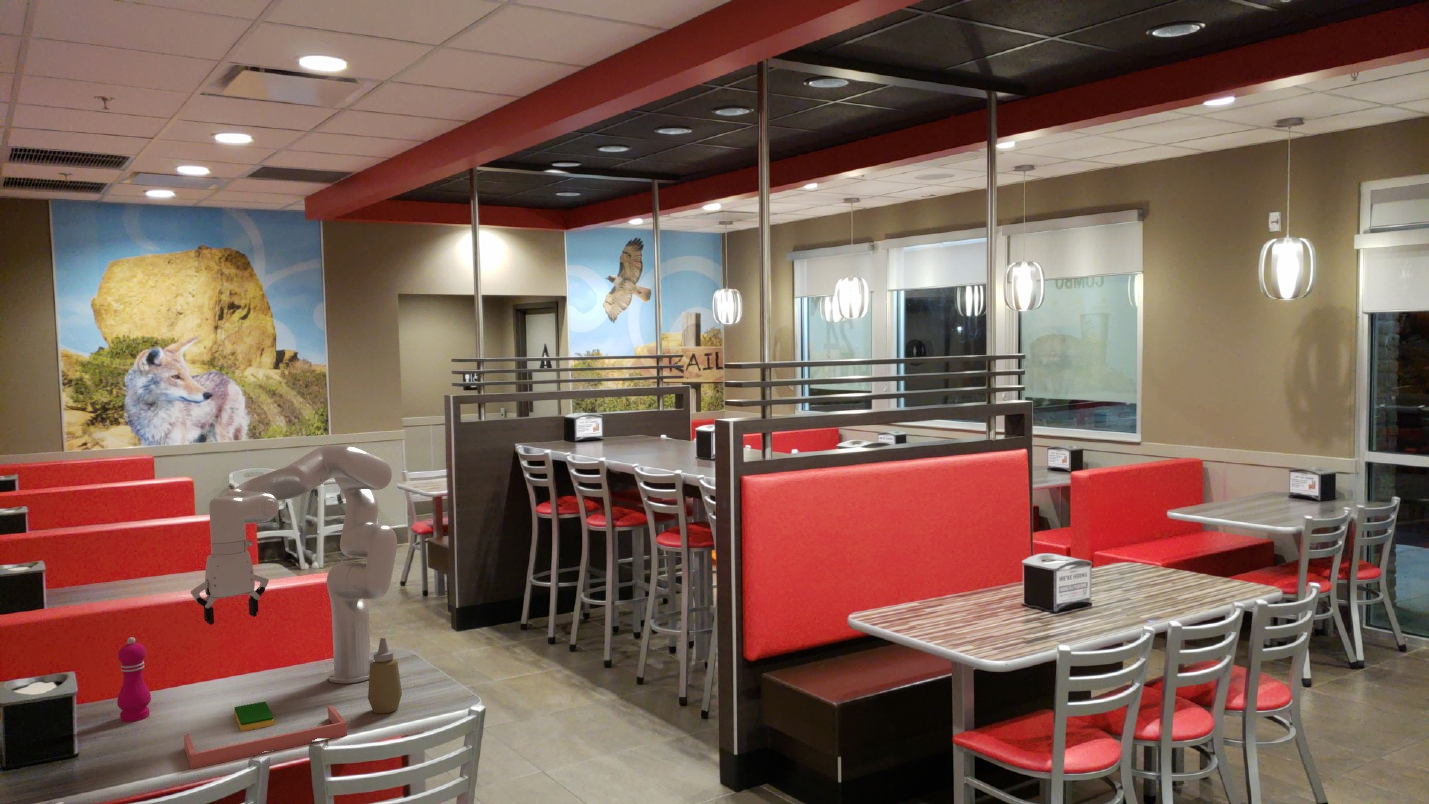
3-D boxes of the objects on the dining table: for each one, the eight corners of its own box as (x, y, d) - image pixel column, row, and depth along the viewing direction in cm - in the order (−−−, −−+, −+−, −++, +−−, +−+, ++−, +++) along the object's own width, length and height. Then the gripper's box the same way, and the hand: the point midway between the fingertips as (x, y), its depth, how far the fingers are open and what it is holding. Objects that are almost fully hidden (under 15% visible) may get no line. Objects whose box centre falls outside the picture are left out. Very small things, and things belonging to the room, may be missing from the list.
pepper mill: (141, 710, 252) (137, 632, 251) (157, 715, 248) (154, 635, 247) (111, 719, 246) (108, 639, 245) (128, 724, 242) (124, 642, 241)
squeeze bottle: (389, 717, 242) (386, 643, 242) (361, 714, 245) (358, 641, 244) (409, 706, 250) (406, 634, 249) (382, 703, 253) (379, 632, 252)
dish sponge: (241, 733, 235) (241, 723, 235) (234, 716, 247) (234, 706, 247) (274, 726, 239) (273, 716, 239) (265, 710, 251) (265, 700, 251)
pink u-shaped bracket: (332, 717, 243) (332, 705, 243) (346, 735, 231) (346, 722, 231) (184, 748, 226) (183, 735, 226) (191, 769, 213) (190, 755, 213)
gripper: (260, 541, 247) (263, 610, 247) (184, 551, 235) (187, 624, 235) (272, 545, 241) (275, 615, 242) (194, 555, 229) (197, 629, 230)
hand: (232, 619), depth 239 cm, fingers open, 9 cm apart
